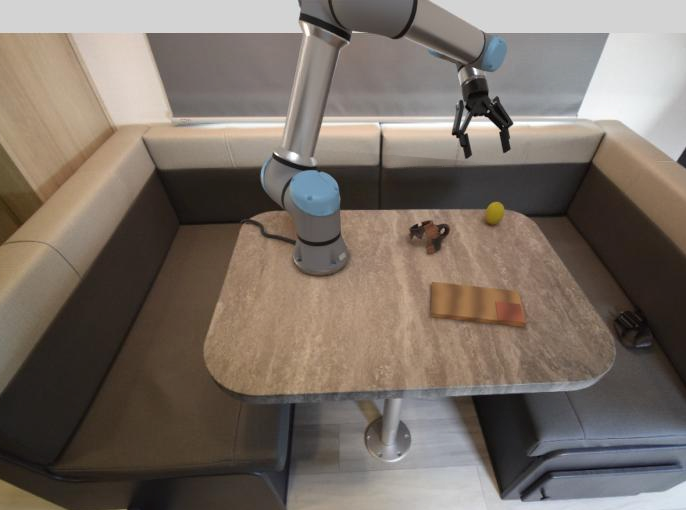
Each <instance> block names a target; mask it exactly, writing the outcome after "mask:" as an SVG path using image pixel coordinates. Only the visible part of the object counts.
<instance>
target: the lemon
mask: <svg viewBox="0 0 686 510" xmlns="http://www.w3.org/2000/svg"><path fill="white" fill-rule="evenodd" d="M504 216H505V206H504V204H502V203H501V202H499V201H493V202H491V203H490V204H489V205H488V206H487V208H486V210H485V213H484V219H485V220H486V222H487V223H488V224H490V225H491V226H492V225H496V224H498V223H500V222H501V221H502V220H503V218H504Z"/></svg>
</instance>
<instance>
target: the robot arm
mask: <svg viewBox="0 0 686 510" xmlns="http://www.w3.org/2000/svg"><path fill="white" fill-rule="evenodd" d="M297 2H298V7H299V8H300V11H299V15H298V16H299V17H298V24H299V27H300V29H301V31H302V39H301V43H300V49H299V53H298V59H297V63H296V68H295V74H294V78H293V83H292V88H291V92H290V98H289V103H288V108H287V113H286V117H285V123H284V128H283V131H282V136H281V141H280V144H279V145H278V146H276V147H275V148H273V150H272V154H271V156H270V157H269V158H268V159H267V160H266V161H264V163H263V165H262V168H261V170H260V182H261V183H260V184H261V186H262V188H263V190H264V191H265V193H266V194H267V196H269V198H270V199H271V200H272V201H274V202H275V203H276V204H277V205H278V206H280V207H281V208H282V210H284V211H285V212H286V213H287V214H289V215H290V216H291V217H292V218H293V220H294V224H295V232H296V240H295V239H292V238H289V237H287V236H286V237H285V236H282V235H278V234H272V233H267V232H265V229H264V225H263V224H262V223H260V222H259V221H257V220H254V219H252V218H243V219H242V220H241V221H240V222H239V223H240V224H242V225H243V224H245V223H251V224H254V225H256V226H258V227H259V229H260V230H259V231H260V233H261V234H262V236H264V237H267V238H272V239H276V240H277V239H278V240H281V241H284V242H287V243H291V244H294V250H293V253H292V256H293V263H294V265H295V268H297V269H298V270H299V271H300V272H302V273H304V274H305V275H308V276H314V277H325V276H330V275H331V276H332V275H334V274H336V273H338V272H341V271H342V270H343V269H344V268H345V267H346V265H347V264H348V262H349V249H348V247H347V245H346V242H345V240H344V238H343V235H342V222H341V194H340V188H339V184H338V182H337V181H336V179H334V177H332V176H331V175H330V174H328V173H326V172H325V171H320V172H319V171H318V170H317V169H318V162H317V159H316V157H315V152H316V148H317V145H318V141H319V137H320V132H321V128H322V125H323V121H324V117H325V112H326V109H327V105H328V101H329V97H330V93H331V88H332V85H333V81H334V78H335V77H334V76H335V72H336V70H337V69H336V68H337V65H338V61H339V57H340V53H341V51H342V50H343V49H344V48H346V47H348V46H349V45H350V43H351V39H352V34H353V32H355V33H363V34H372V35H378V36H383V37H385V38H389V39H391V40H394V41H398V40H400V39H406V40H408V41H411V42H413V43H414V44H418V45H420V46H423V47H424V48H426V51H427V52H428V54H430V55H432V56H433V57H435V58H437V59H441V60H444V61H447V62H450V63H452V64H455V67H456V71H457V76H458V81H459V85H460V89H461V97H462V99H459V101H458V102H457V103H456V104H455V115H454V119H453V125H452V129H451V136H453V137H455V138H456V139H458V142H459V146H460V148H462V150H463V154H464V159H465V160H467V159H469V158H471V156H473V152H472V148H471V143H470V137H469V133H468V132H466V131H467V129H468V128H469V127H468V126H469V125H470V123H471V121H472V118H476V117H477V118H478V117H483V116H484V118H486V119H488V120H490V122H491V123H492V124H494V126H495V127H496V128H497V129H498V130H499V132H498V134H499V135H498V136H499V139H500V145H501V150H502V154H506V153H507V152H508V151H511V149H512V148H511V144H510V139H511V134H510V130H509V128H511V127H512V126H513V125H514V121H513V120H512V119H511V116H510V115H509V113H508V112H507V111H506V109H505V108H504V106H503V105H502V103H501V100H500V97H499V96H497V95H496V96H495V97H494V98H490V96H489V92H490V89H489V84H488V79H487V74H486V73H487V72H488V73H494V72H496V71H498V70H499V68H501V66H502V65H503V63H504V62H505V61H504V60H505V58H506V55H507V51H508V44H507V41H506V40H505V39H504V38H503V37H500V36H498V35H492V34H490V33H489V34H488V33H487V32H485V31H483V30H482V29H479V28H478V27H476V26H475V25H473V24H472V23H470V22H468V21H466V20H464V19H463V18H461V17H459V16H457V15H456V14H454V13H452V12H450V11H448V10H446V9H445V8H443V7H441V6H440V5H438V4H436V3H434V2H433V1H431V0H297ZM464 110H466V111H467V113H466V114H465V118H464V119H463V121H462V118H463V114H464Z"/></svg>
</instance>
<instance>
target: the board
mask: <svg viewBox="0 0 686 510" xmlns="http://www.w3.org/2000/svg"><path fill="white" fill-rule="evenodd" d="M430 288H431V291H430V292H431V296H430V297H431V298H430V299H431V300H430V302H431V304H430V306H431V307H430V312H431V313H430V317H431V318H438V319H446V320H447V319H448V320H457V321H463V322H474V323H483V324H491V325H501V326H511V327H517V328H525V327H526V325H527V319H526V315H525V312H524V307H523V302H522V299H521V294H520V291H519V290H513V289H505V288H495V287H485V286H476V285H468V284H467V285H466V284H457V283H448V282H438V281H437V282H436V281H432V282H431V287H430Z"/></svg>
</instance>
